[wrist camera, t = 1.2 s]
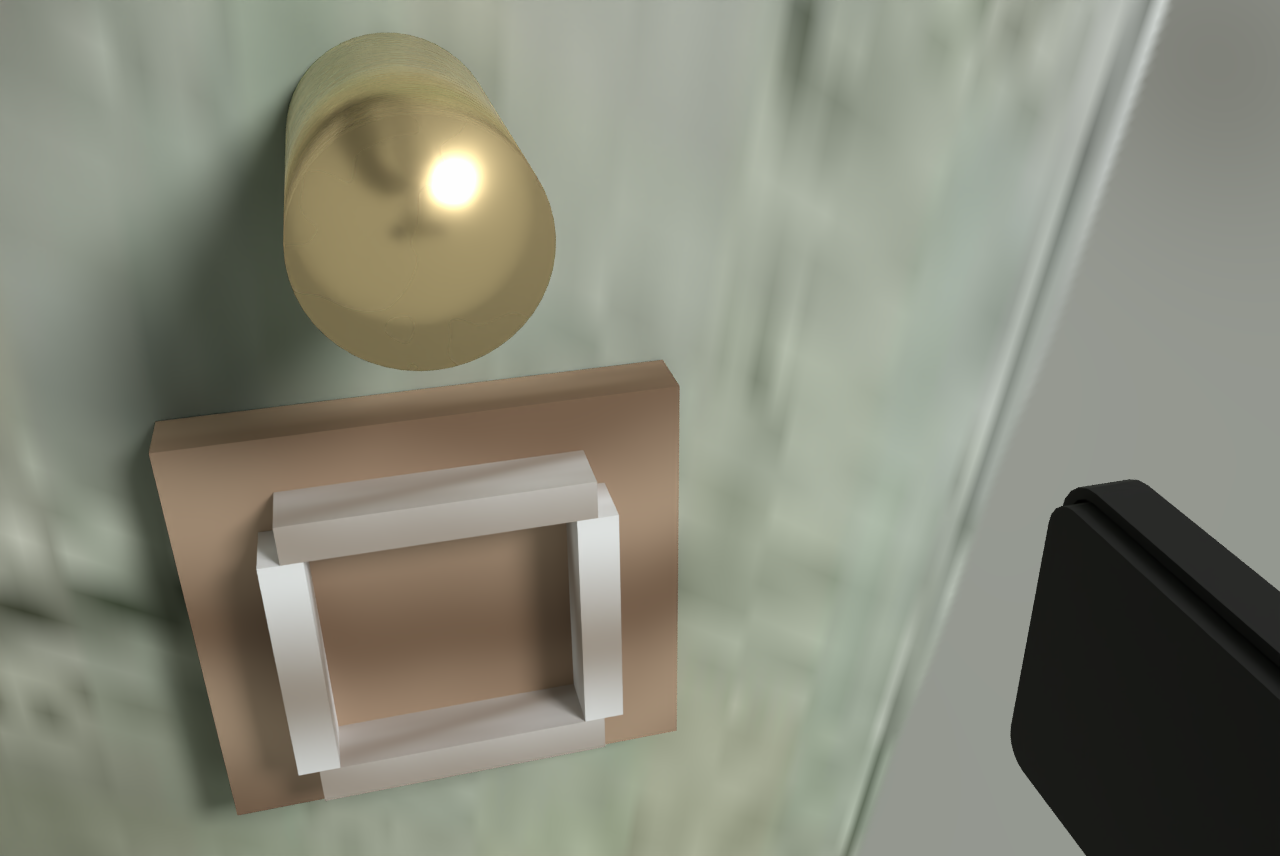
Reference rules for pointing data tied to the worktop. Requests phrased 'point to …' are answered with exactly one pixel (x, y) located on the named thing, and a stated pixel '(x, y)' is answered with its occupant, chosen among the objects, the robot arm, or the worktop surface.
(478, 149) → the cylinder
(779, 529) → the worktop surface
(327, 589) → the fitting board
